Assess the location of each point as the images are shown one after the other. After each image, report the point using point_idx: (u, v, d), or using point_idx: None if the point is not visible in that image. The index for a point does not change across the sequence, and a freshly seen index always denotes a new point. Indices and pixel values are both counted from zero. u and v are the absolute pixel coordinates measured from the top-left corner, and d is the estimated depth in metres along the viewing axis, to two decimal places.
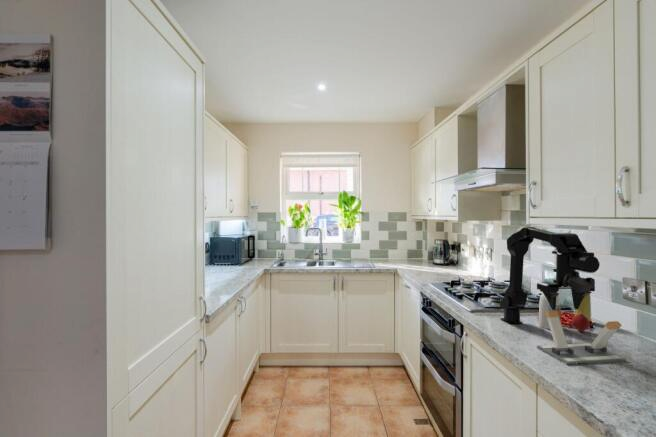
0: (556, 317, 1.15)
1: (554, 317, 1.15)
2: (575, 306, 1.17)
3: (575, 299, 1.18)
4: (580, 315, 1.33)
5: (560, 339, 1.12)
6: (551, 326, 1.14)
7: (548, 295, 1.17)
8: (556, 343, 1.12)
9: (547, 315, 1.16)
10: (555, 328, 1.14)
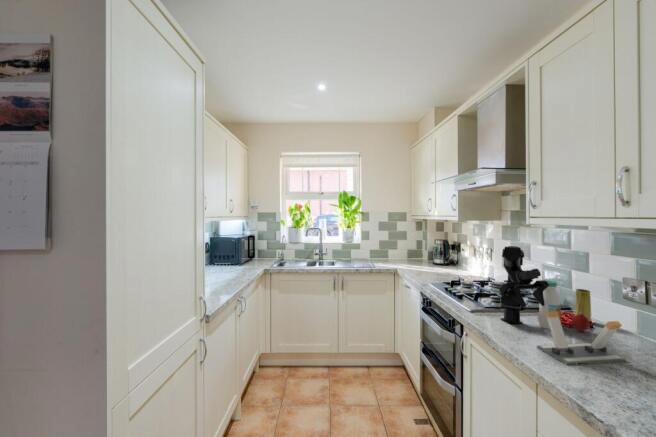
0: (556, 317, 1.15)
1: (554, 317, 1.15)
2: (541, 303, 1.26)
3: (538, 298, 1.28)
4: (580, 315, 1.33)
5: (560, 339, 1.12)
6: (551, 326, 1.14)
7: (514, 296, 1.28)
8: (556, 343, 1.12)
9: (547, 315, 1.16)
10: (555, 328, 1.14)
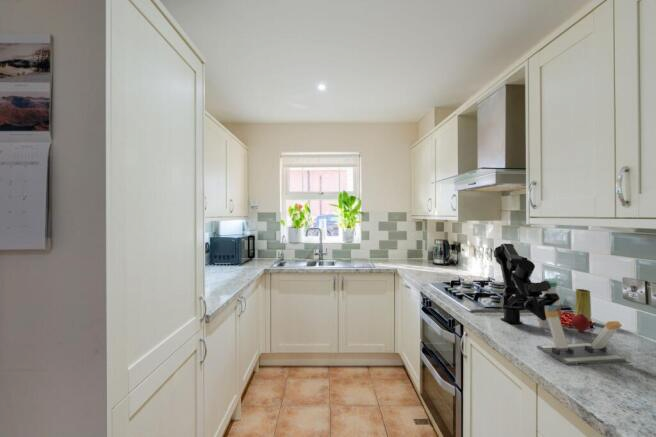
0: (556, 317, 1.15)
1: (554, 317, 1.15)
2: None
3: None
4: (580, 315, 1.33)
5: (560, 339, 1.12)
6: (551, 326, 1.14)
7: (532, 308, 1.24)
8: (556, 343, 1.12)
9: (547, 315, 1.16)
10: (555, 328, 1.14)
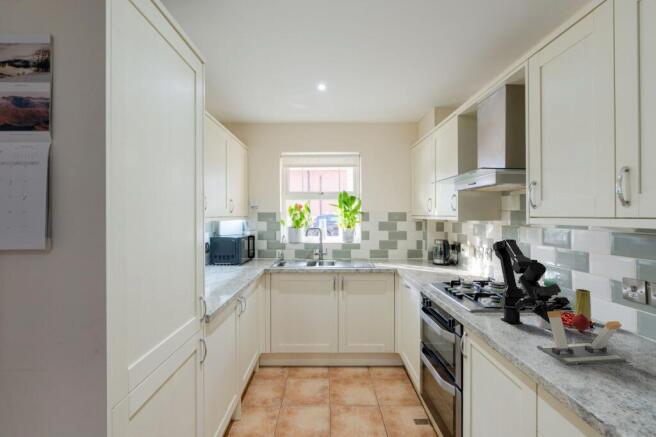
0: (558, 317, 1.14)
1: (557, 317, 1.15)
2: None
3: None
4: (580, 315, 1.33)
5: (561, 339, 1.12)
6: (552, 326, 1.14)
7: (541, 313, 1.19)
8: (556, 343, 1.12)
9: (549, 315, 1.15)
10: (556, 328, 1.13)
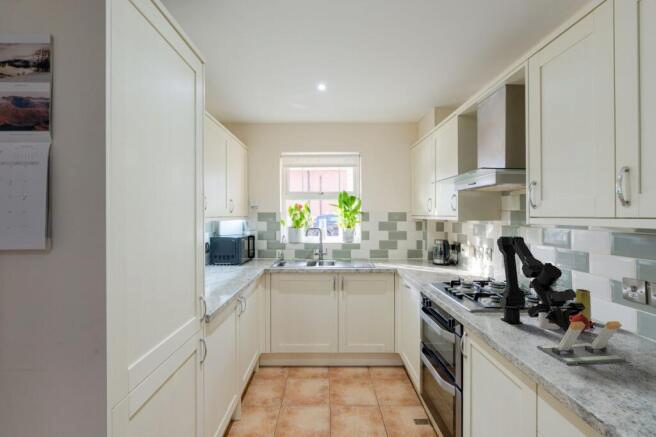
0: (579, 329, 1.06)
1: (578, 329, 1.06)
2: None
3: None
4: (580, 315, 1.33)
5: (567, 344, 1.10)
6: (567, 334, 1.08)
7: (555, 319, 1.13)
8: (560, 346, 1.11)
9: (571, 326, 1.06)
10: (570, 337, 1.08)
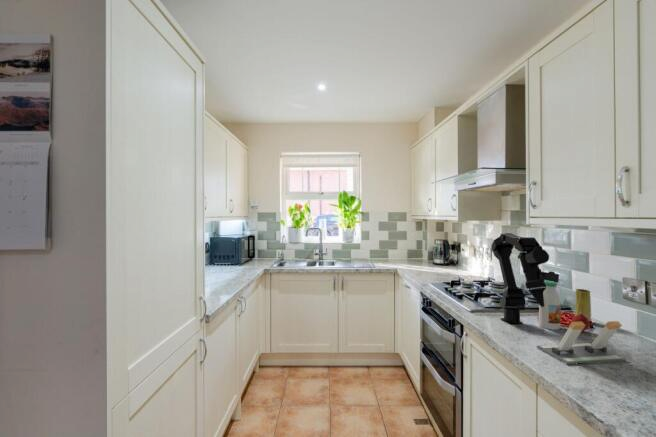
0: (579, 329, 1.06)
1: (578, 329, 1.06)
2: None
3: None
4: (580, 315, 1.33)
5: (567, 344, 1.10)
6: (567, 334, 1.08)
7: (535, 293, 1.25)
8: (560, 346, 1.11)
9: (571, 326, 1.06)
10: (570, 337, 1.08)
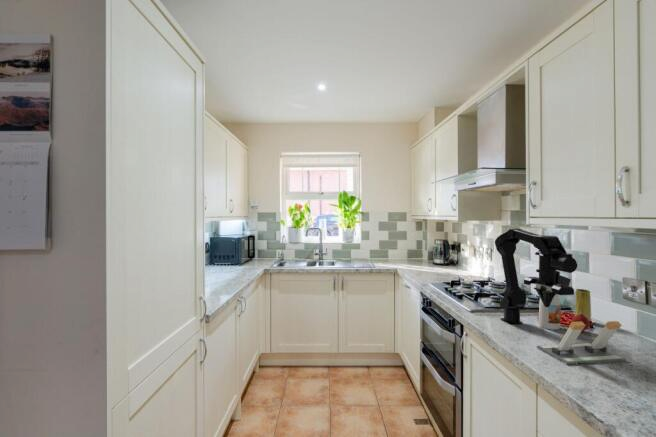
0: (579, 329, 1.06)
1: (578, 329, 1.06)
2: None
3: None
4: (580, 315, 1.33)
5: (567, 344, 1.10)
6: (567, 334, 1.08)
7: (548, 295, 1.23)
8: (560, 346, 1.11)
9: (571, 326, 1.06)
10: (570, 337, 1.08)
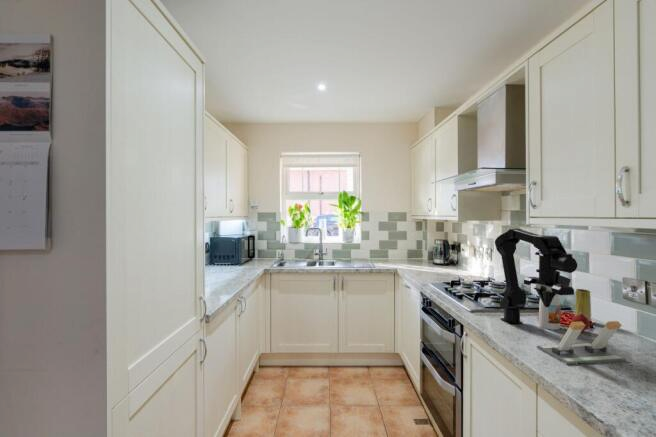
0: (579, 329, 1.06)
1: (578, 329, 1.06)
2: None
3: None
4: (580, 315, 1.33)
5: (567, 344, 1.10)
6: (567, 334, 1.08)
7: (548, 295, 1.23)
8: (560, 346, 1.11)
9: (571, 326, 1.06)
10: (570, 337, 1.08)
